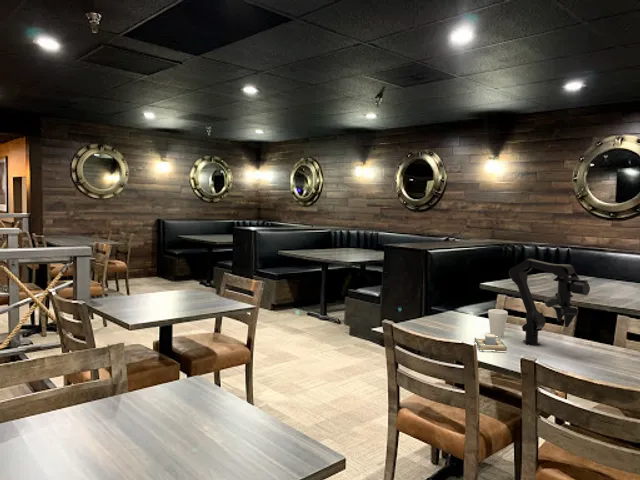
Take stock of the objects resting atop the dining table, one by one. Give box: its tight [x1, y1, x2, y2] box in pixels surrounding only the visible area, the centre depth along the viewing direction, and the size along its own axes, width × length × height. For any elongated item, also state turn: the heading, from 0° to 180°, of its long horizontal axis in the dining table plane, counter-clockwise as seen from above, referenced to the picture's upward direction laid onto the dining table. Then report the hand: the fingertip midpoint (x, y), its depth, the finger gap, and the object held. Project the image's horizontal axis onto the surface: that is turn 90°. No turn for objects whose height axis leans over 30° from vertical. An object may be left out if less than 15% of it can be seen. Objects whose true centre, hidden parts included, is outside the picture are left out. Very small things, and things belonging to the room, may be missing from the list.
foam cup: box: [487, 308, 509, 338], centre depth 253 cm, size 10×9×13 cm
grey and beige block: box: [484, 333, 497, 345], centre depth 233 cm, size 4×4×6 cm
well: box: [474, 337, 508, 351], centre depth 234 cm, size 14×12×2 cm
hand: (562, 324), depth 227 cm, fingers open, 9 cm apart
